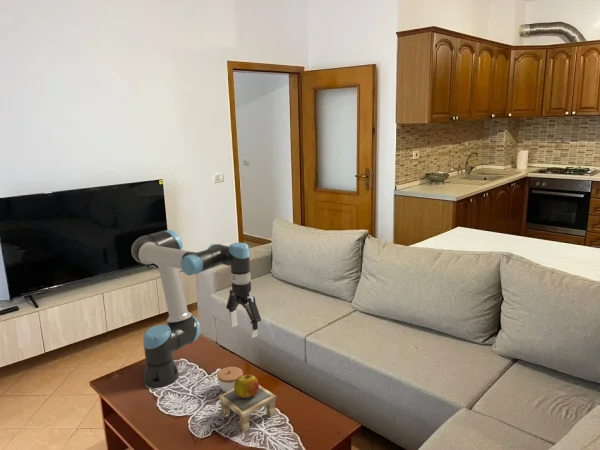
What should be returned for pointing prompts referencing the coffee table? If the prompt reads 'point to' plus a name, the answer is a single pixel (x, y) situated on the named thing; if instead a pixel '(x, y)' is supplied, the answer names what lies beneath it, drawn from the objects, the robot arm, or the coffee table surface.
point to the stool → (247, 404)
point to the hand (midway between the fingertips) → (244, 331)
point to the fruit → (246, 386)
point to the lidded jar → (228, 377)
